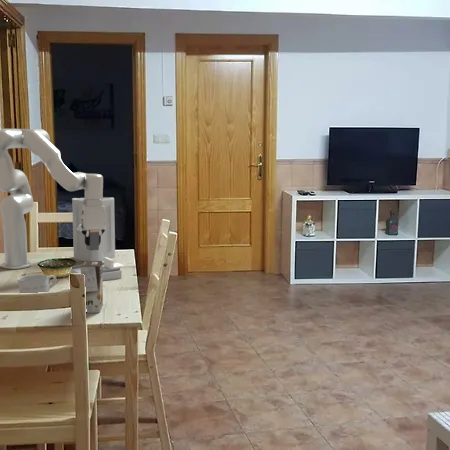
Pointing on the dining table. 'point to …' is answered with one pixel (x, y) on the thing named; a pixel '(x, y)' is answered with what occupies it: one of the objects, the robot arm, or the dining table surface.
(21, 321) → the dining table surface
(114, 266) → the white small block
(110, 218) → the tall white carton
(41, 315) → the dining table surface
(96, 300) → the coffee box
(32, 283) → the teacup
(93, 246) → the plug
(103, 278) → the socket
